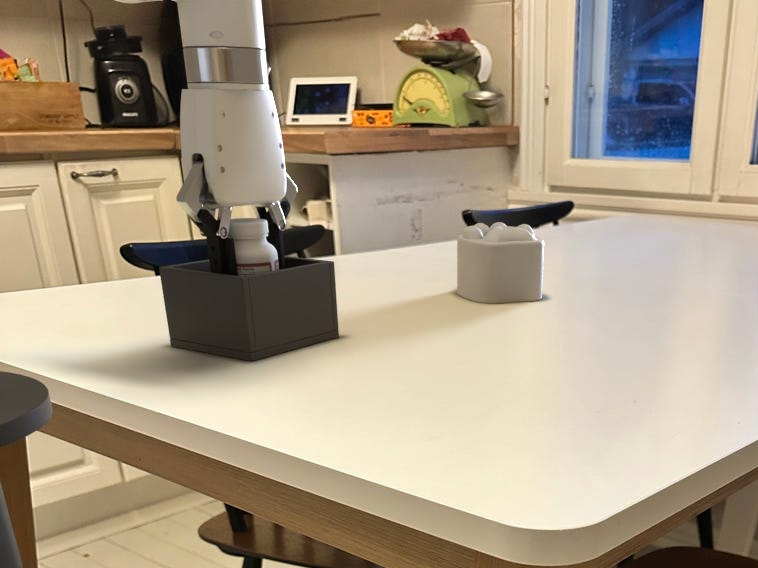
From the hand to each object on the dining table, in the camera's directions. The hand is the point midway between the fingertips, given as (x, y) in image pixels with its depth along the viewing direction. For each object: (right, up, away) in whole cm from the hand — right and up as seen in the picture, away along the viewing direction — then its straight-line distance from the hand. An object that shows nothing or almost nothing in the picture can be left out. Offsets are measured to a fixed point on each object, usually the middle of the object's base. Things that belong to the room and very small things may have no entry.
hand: (249, 273), depth 95 cm
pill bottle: (0, -5, +3) cm, 6 cm away
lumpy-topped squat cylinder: (+26, +9, +30) cm, 41 cm away
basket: (0, -6, +3) cm, 7 cm away
